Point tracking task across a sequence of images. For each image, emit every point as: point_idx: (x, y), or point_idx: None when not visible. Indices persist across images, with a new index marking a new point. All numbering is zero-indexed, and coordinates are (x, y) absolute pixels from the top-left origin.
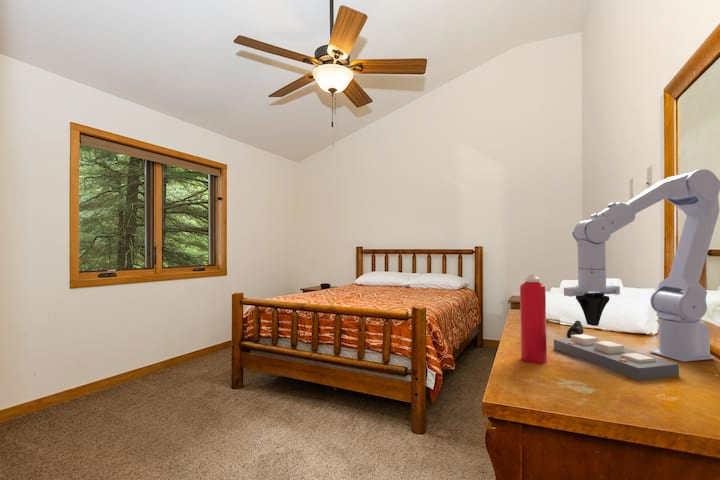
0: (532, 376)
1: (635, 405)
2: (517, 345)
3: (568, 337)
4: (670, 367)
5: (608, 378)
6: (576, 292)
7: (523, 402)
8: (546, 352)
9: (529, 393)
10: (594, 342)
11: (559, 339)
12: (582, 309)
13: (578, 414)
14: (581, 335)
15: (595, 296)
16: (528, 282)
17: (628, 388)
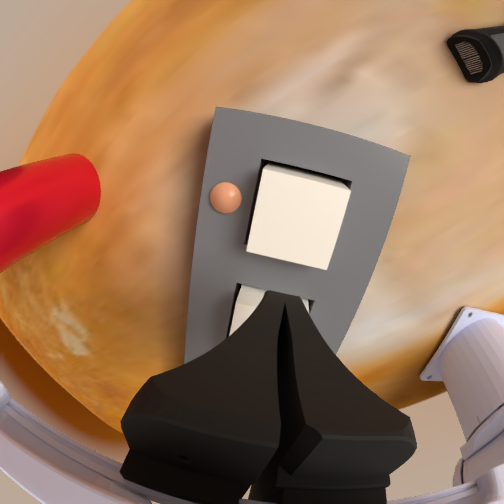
0: (31, 269)
1: (105, 395)
2: (145, 28)
3: (447, 43)
4: None
5: (145, 352)
6: (45, 458)
7: (5, 316)
8: (75, 225)
9: (13, 307)
10: (236, 302)
11: (240, 119)
12: (231, 335)
13: (40, 362)
14: (307, 201)
15: (260, 500)
16: None
17: (140, 382)
